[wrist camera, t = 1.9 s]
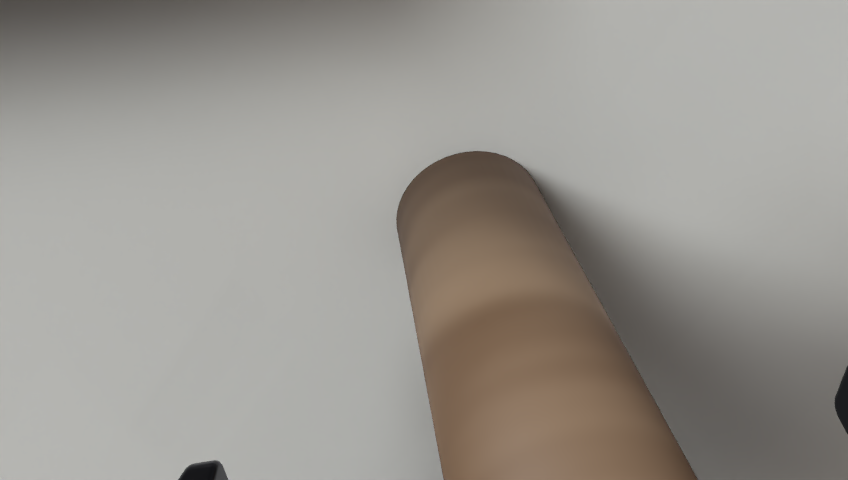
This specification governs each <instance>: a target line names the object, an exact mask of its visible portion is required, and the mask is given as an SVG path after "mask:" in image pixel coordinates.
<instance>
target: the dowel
mask: <svg viewBox="0 0 848 480" xmlns="http://www.w3.org/2000/svg"><path fill="white" fill-rule="evenodd" d="M397 230H398V236H399V241H400V247H401V252H402V257H403V263H404V268H405V274H406V279H407V284H408V290H409V295H410V300H411V306H412V311H413V317H414V322H415V327H416V333H417V338H418V343H419V349H420V354H421V360H422V365H423V370H424V376H425V381H426V386H427V392H428V397H429V403H430V408H431V413H432V419H433V424H434V429H435V435H436V440H437V446H438V451H439V456H440V462H441V467H442V472H443V478H444V480H698V479H697V477H696V476H695V474H694V472H693V470H692V468H691V466H690V465H689V463H688V461H687V459H686V457H685V456H684V454H683V452H682V450H681V448H680V446H679V445H678V443H677V441H676V439H675V437H674V435H673V434H672V432H671V430H670V428H669V426H668V425H667V423H666V421H665V419H664V417H663V415H662V414H661V412H660V410H659V408H658V406H657V404H656V403H655V401H654V399H653V397H652V395H651V393H650V392H649V390H648V388H647V386H646V384H645V383H644V381H643V379H642V377H641V375H640V373H639V372H638V370H637V368H636V366H635V364H634V362H633V361H632V359H631V357H630V355H629V353H628V352H627V350H626V348H625V346H624V344H623V342H622V341H621V339H620V337H619V335H618V333H617V331H616V330H615V328H614V326H613V324H612V322H611V321H610V319H609V317H608V315H607V313H606V311H605V310H604V308H603V306H602V304H601V302H600V300H599V299H598V297H597V295H596V293H595V291H594V290H593V288H592V286H591V284H590V282H589V280H588V279H587V277H586V275H585V273H584V271H583V269H582V268H581V266H580V264H579V262H578V260H577V258H576V257H575V255H574V253H573V251H572V249H571V248H570V246H569V244H568V242H567V240H566V238H565V237H564V235H563V233H562V231H561V229H560V227H559V226H558V224H557V222H556V220H555V218H554V217H553V215H552V213H551V211H550V209H549V207H548V206H547V204H546V202H545V200H544V198H543V196H542V195H541V193H540V191H539V189H538V187H537V186H536V184H535V182H534V180H533V179H532V177H531V176H530V174H529V173H528V172H527V171H526V170H525V169H524V168H523V167H522V166H521V165H519V164H518V163H516V162H515V161H513V160H512V159H509V158H507V157H505V156H502V155H499V154H496V153H490V152H481V151H473V152H464V153H458V154H454V155H451V156H448V157H445V158H443V159H441V160H439V161H437V162H435V163H433V164H432V165H430V166H428V167H427V168H426V169H424V170H423V171H422V172H421V173H420V174H418V175H417V176H416V177H415V178H414V179H413V181H412V182H411V183H410V184H409V186H408V187H407V189H406V191H405V192H404V194H403V196H402V198H401V201H400V203H399V207H398V211H397Z"/></svg>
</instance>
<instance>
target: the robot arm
mask: <svg viewBox="0 0 848 480" xmlns="http://www.w3.org/2000/svg"><path fill="white" fill-rule="evenodd" d="M835 409H836V412H837V415H838V417H839V419H840V421H841V423H842V425H843V427H844V428H845V430H846V432H847V434H848V366H847V368H846V370H845V373H844V376H843V378H842V381H841V383H840V386H839V389H838V391H837V394H836V397H835ZM178 480H228V478H227V476H226V473H225V470H224V468H223V466H222V464H221V463H220V462H219V461H215V460H214V461H207V462H201V463H195V464H192V465H190V466H188V467H187V468H186V469H185V471H184V472H183V473H182V475H181V476H180V478H179V479H178Z"/></svg>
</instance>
